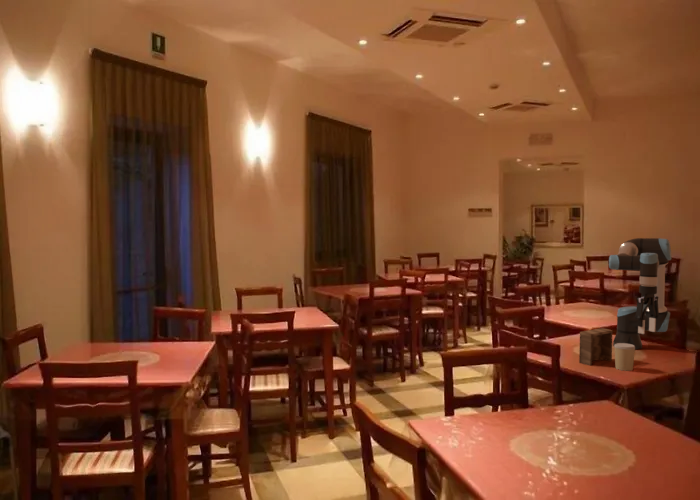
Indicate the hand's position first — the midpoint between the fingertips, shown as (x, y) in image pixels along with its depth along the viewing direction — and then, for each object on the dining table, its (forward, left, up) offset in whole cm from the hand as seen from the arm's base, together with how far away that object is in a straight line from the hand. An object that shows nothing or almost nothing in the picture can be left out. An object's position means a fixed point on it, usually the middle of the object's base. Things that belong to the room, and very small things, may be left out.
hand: (646, 332), depth 266 cm
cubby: (0, -27, -20) cm, 34 cm away
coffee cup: (0, -11, -21) cm, 23 cm away
